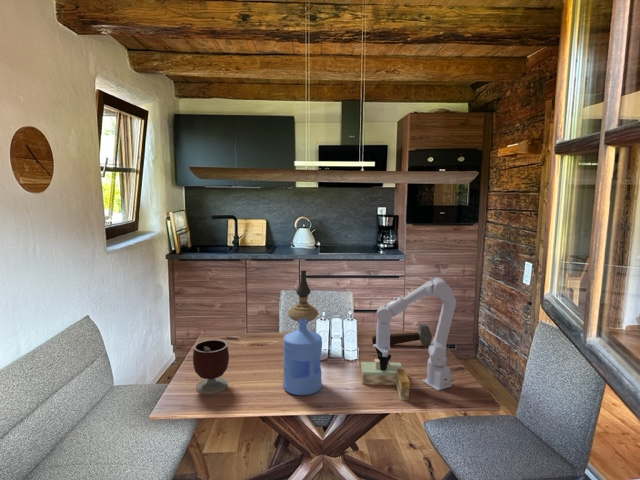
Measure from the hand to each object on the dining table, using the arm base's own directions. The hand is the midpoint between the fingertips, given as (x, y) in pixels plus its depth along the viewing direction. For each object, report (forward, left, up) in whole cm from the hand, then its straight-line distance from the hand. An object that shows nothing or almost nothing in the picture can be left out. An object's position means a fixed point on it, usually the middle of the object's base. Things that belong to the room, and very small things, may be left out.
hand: (382, 366), depth 172 cm
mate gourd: (+25, +66, -6) cm, 71 cm away
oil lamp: (+42, +17, -6) cm, 46 cm away
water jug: (+9, +33, -6) cm, 35 cm away
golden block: (-14, 0, 0) cm, 14 cm away
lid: (0, 0, -2) cm, 2 cm away
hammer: (+26, -31, -6) cm, 41 cm away
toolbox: (-5, +3, -6) cm, 8 cm away
